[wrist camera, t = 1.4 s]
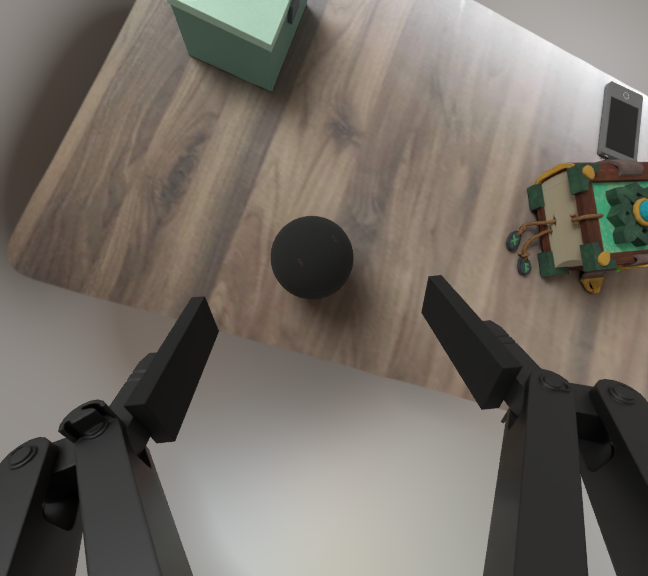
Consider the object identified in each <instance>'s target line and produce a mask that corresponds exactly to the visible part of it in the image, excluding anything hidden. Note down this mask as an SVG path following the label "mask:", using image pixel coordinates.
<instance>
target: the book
mask: <svg viewBox="0 0 648 576" xmlns="http://www.w3.org/2000/svg"><path fill="white" fill-rule="evenodd" d="M527 190H528V196H529V202H530V209H531V210H537V214H538V220H539V221H538V222H529V223H525V224H522V226H521V227H520V228H519V231H514V232H512V233H511V234H510V235H509V237H508V239H507V242H506V245H507V248H508V249H509V250H510V251H511V250H515V249H517V247H518V245H519V243H520V240H521V234H522V233H523V232H524V231H526V226H530V225H539V226H540V233H538V234H537V235H535V236H534V237H532V238H530V239H529V240H528V241H527V242H526V243H525V244H524V246H523V249H522V252H521V251H520V252H519V254H520V255H521V257H522V258H519V260H518V271H519V273H520V274H522V275H526V274H528V273H529V272H530V270H531V264H530V261H529V260H528V259H527V258H528V256H529V255H530V253H526V249H527V247H528V245H529V244H530V243H531V242H532V241H533V240H535V239H536V238H538V237H540V236H541V239H542V245H543V251H544V253H539V254H538V258H539V265H540V271H541V277H542V276H551V275H561V274H569V270H578V269H581V270H582V271H584V272H585V271H587V272H585V273H583V275H582V279H580V281H581V282H582V283H583V285H584V287H585V288H586V290H587V291H589V292H590V293H599V292H600V289H601V287H602V282H603V279H604V277H602V276H603V273H604V272H606V271H610V270H614V271H615V272H620V271H621V269H630V268H639V267H646V266H648V162H637V161H634V160H603V161H599V162H596V163H563V164H559V165H557V166H555V167H553V168H551V169H550V170H548V171H546V172H544V173H543V174H542V175H541V176H539V178H538V179H537V181H536V183H535V185H533V186H531V187H529V188H527ZM645 264H647V265H645ZM589 282H590V283H591V285H592V287H593V288H590V286H589Z"/></svg>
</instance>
